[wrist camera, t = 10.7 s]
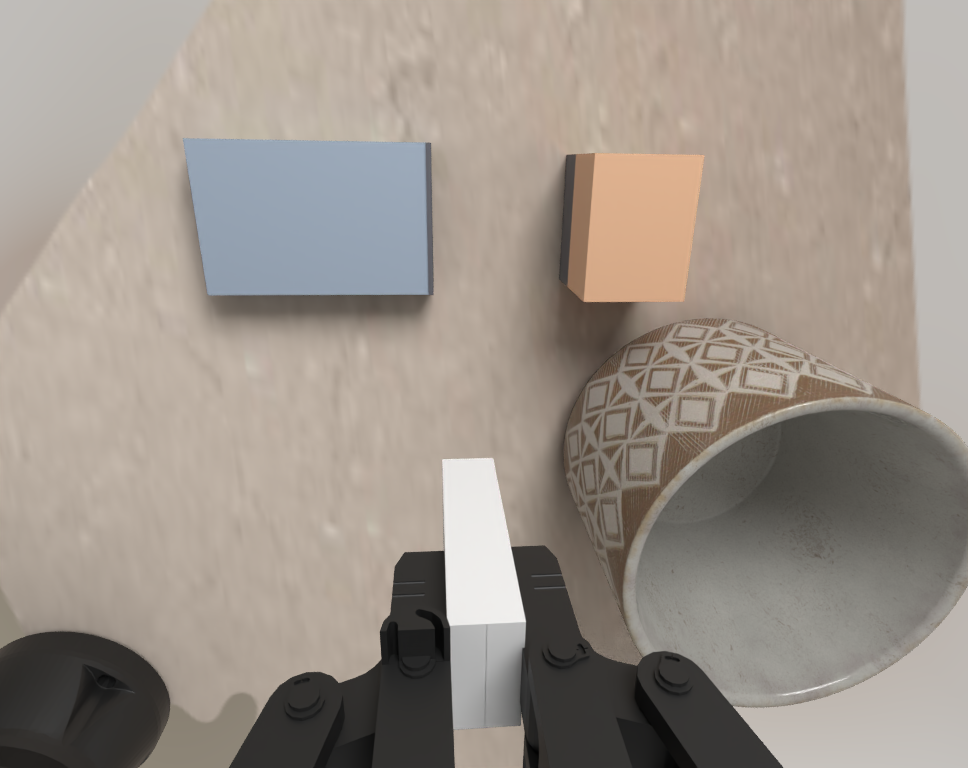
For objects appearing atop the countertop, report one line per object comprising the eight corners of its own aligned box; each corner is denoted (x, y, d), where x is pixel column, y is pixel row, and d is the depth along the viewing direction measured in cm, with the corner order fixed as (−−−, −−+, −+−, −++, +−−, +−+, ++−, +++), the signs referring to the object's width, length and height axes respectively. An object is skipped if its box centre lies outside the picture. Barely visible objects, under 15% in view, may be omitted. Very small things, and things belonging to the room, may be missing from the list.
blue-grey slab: (221, 287, 38) (207, 295, 36) (199, 140, 35) (182, 138, 33) (433, 286, 39) (433, 294, 37) (430, 144, 36) (430, 142, 34)
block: (559, 279, 40) (583, 301, 33) (566, 154, 37) (595, 153, 31) (643, 279, 40) (684, 301, 34) (657, 156, 38) (704, 155, 31)
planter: (578, 558, 49) (645, 740, 33) (537, 346, 42) (598, 452, 26) (802, 506, 49) (971, 664, 33) (798, 284, 42) (1011, 355, 26)
